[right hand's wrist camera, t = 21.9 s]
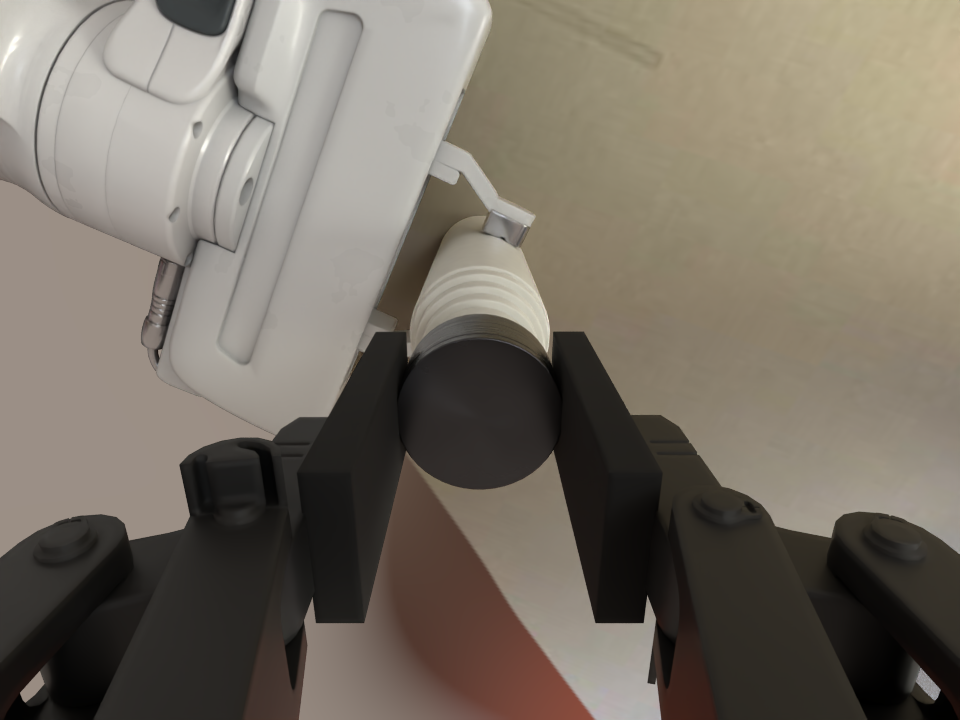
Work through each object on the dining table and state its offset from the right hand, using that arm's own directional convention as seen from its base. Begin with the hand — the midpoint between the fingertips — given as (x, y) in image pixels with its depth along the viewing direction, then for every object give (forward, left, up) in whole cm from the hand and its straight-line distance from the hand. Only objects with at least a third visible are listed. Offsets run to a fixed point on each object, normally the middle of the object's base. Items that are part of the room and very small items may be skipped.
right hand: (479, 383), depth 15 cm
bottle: (0, 0, -18) cm, 18 cm away
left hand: (-1, +1, -11) cm, 11 cm away
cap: (0, 0, +2) cm, 2 cm away
